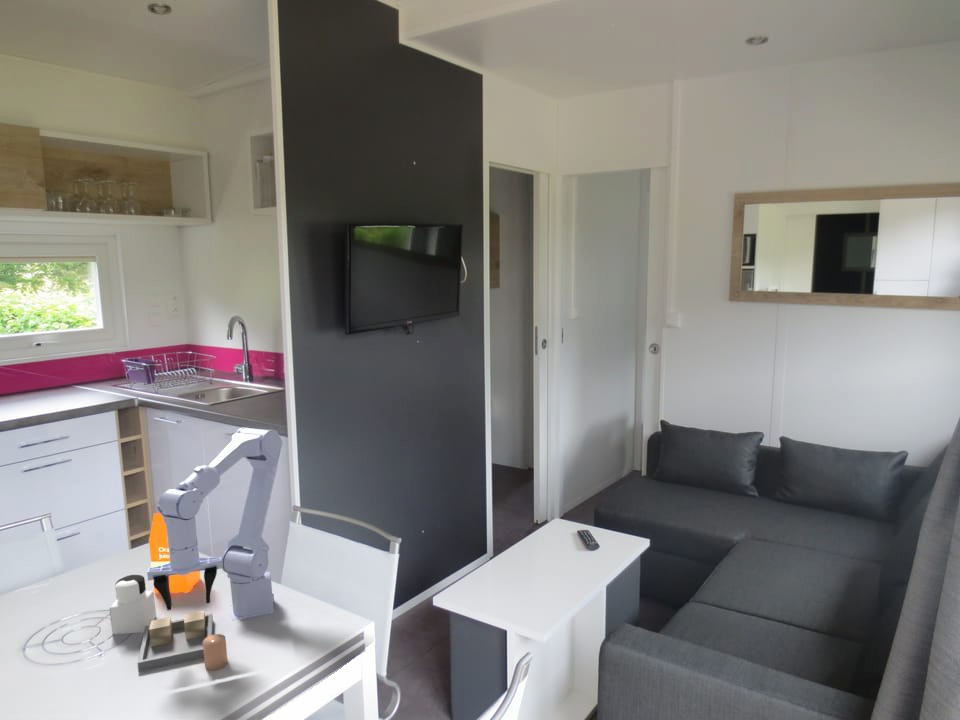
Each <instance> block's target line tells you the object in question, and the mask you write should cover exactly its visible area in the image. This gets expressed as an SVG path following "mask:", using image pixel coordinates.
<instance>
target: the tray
mask: <svg viewBox="0 0 960 720" xmlns="http://www.w3.org/2000/svg"><path fill="white" fill-rule="evenodd" d="M184 620H185V618H181V619H175V620H171V624H172V633H173V634H172V640H171V643H166V644H162V645H157V646H152V647H151V641H150V632H149V628H150V625H149V626H146V627H145V632H143V637H142V641H141V646H140V649H139V655H138V660H137V670H138V671H137V672H143V671H148V670H153V669H158V668H162V667H163V668H164V667H166V666H171V665H177V664H181V663H186V662H191V661H195V660H199V659H200V660H201V659H204V651H203V640H204V639H205V638H207V637H209V636H211V635H214V634H213V632H214V617H213V613H207V614H205V623H206V633H205V636H201V637H196V638H191V639H186V635H185V626H184Z"/></svg>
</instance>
